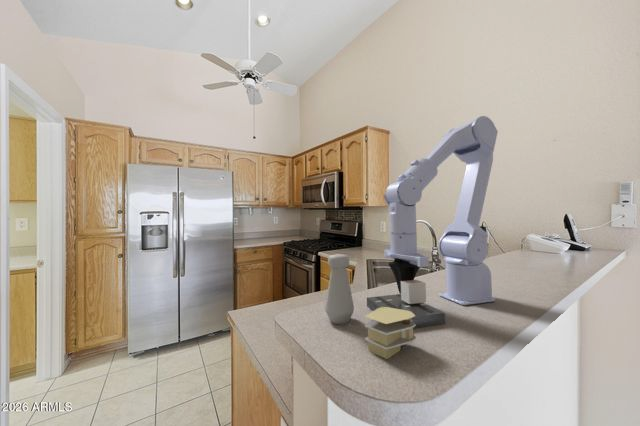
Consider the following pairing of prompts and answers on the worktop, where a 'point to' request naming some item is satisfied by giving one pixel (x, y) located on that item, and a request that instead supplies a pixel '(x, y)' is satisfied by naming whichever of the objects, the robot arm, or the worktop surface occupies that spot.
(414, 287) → the white striped block
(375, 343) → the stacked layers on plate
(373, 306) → the console
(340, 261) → the salt shaker
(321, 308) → the worktop surface
